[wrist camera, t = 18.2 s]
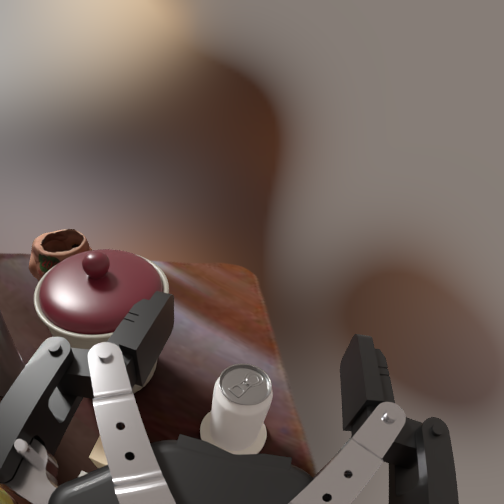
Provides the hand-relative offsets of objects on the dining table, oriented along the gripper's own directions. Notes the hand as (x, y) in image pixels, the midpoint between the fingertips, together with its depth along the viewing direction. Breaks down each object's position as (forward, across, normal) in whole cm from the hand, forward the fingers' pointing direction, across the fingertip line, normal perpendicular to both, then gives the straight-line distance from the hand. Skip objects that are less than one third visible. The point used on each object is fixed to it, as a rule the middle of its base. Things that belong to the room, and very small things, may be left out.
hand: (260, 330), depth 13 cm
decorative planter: (+26, +37, +30) cm, 54 cm away
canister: (+15, +20, +30) cm, 39 cm away
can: (+10, 0, +29) cm, 31 cm away
